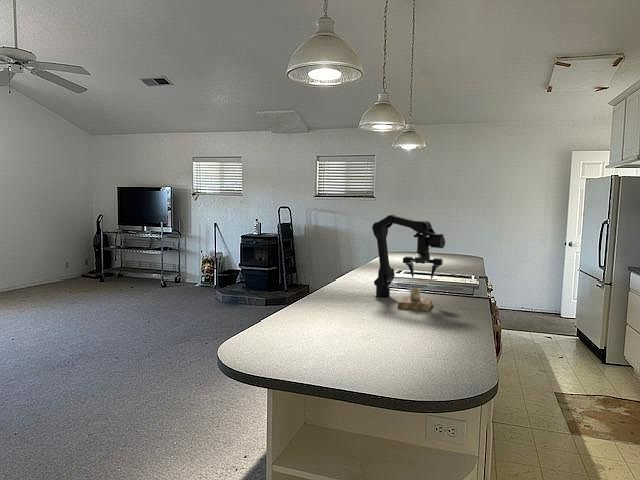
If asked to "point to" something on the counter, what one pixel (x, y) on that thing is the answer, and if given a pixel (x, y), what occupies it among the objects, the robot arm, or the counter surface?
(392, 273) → the robot arm
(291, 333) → the counter surface
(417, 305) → the seat block
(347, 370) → the counter surface
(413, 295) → the peg
